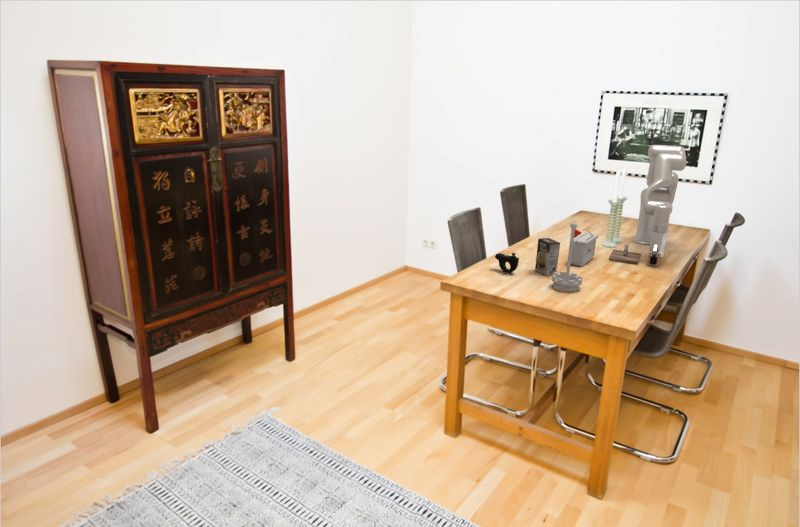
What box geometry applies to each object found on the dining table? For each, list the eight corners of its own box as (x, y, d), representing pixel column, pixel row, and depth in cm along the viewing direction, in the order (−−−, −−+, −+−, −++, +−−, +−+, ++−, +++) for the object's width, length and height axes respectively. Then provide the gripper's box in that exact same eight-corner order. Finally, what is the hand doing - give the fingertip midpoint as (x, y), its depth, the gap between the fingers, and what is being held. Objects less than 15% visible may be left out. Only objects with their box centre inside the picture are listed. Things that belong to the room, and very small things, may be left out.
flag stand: (563, 294, 240) (572, 227, 231) (545, 284, 251) (552, 220, 242) (587, 290, 245) (596, 224, 236) (568, 281, 256) (576, 217, 247)
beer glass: (665, 258, 294) (670, 231, 290) (651, 257, 296) (656, 230, 291) (662, 254, 301) (667, 227, 296) (649, 253, 302) (653, 227, 298)
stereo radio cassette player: (580, 255, 296) (585, 218, 290) (595, 258, 292) (600, 221, 286) (566, 264, 280) (571, 226, 274) (583, 268, 276) (588, 229, 269)
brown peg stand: (613, 251, 304) (615, 238, 301) (640, 256, 298) (642, 242, 295) (608, 260, 288) (610, 246, 286) (637, 264, 282) (639, 250, 280)
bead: (647, 261, 288) (648, 252, 287) (659, 263, 286) (661, 254, 284) (646, 264, 283) (647, 255, 282) (658, 266, 281) (660, 257, 279)
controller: (514, 275, 262) (516, 255, 258) (492, 269, 270) (494, 249, 267) (519, 273, 264) (521, 253, 261) (497, 267, 273) (499, 248, 270)
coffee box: (534, 270, 270) (537, 238, 265) (545, 268, 273) (548, 237, 268) (545, 276, 262) (549, 243, 257) (556, 274, 265) (560, 242, 260)
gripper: (652, 224, 288) (646, 256, 293) (649, 231, 273) (643, 265, 278) (668, 226, 284) (662, 258, 290) (666, 233, 270) (660, 267, 275)
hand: (653, 261), depth 284 cm, fingers open, 7 cm apart
